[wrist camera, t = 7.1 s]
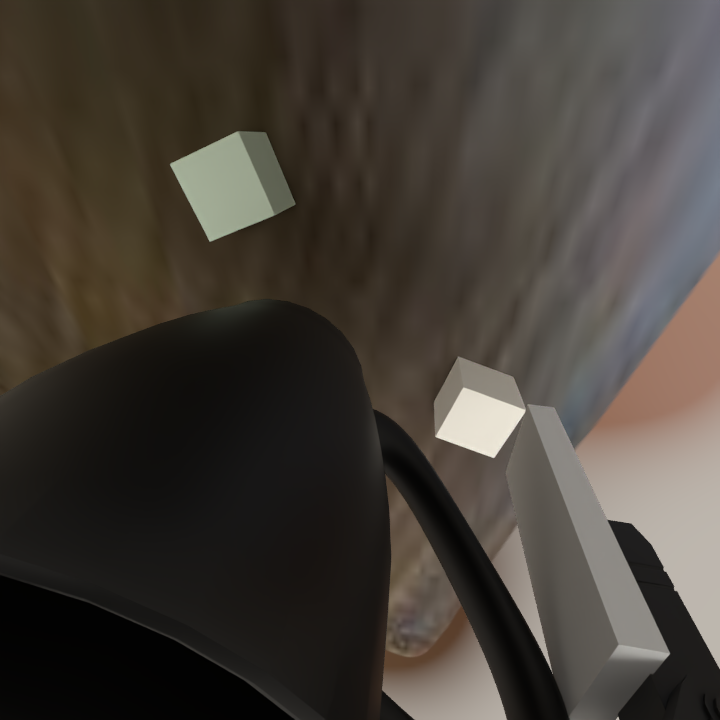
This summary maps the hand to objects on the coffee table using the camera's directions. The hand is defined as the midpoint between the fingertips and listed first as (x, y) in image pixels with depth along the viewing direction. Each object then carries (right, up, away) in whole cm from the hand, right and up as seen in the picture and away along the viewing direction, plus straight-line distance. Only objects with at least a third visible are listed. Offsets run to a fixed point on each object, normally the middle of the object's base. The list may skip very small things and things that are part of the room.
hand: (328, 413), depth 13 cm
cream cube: (+11, -1, +23) cm, 25 cm away
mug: (0, 0, +1) cm, 1 cm away
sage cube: (-7, +15, +17) cm, 24 cm away
